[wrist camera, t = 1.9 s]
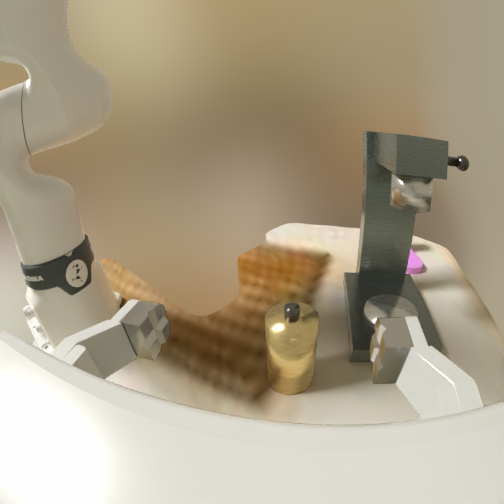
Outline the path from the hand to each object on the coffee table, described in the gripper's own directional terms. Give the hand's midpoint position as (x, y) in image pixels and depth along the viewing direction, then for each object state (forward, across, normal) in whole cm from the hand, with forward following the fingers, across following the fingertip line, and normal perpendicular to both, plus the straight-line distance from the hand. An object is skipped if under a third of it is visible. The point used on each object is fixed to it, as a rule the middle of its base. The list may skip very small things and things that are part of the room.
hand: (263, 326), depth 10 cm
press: (+24, -16, +18) cm, 35 cm away
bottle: (+12, 0, +18) cm, 22 cm away
